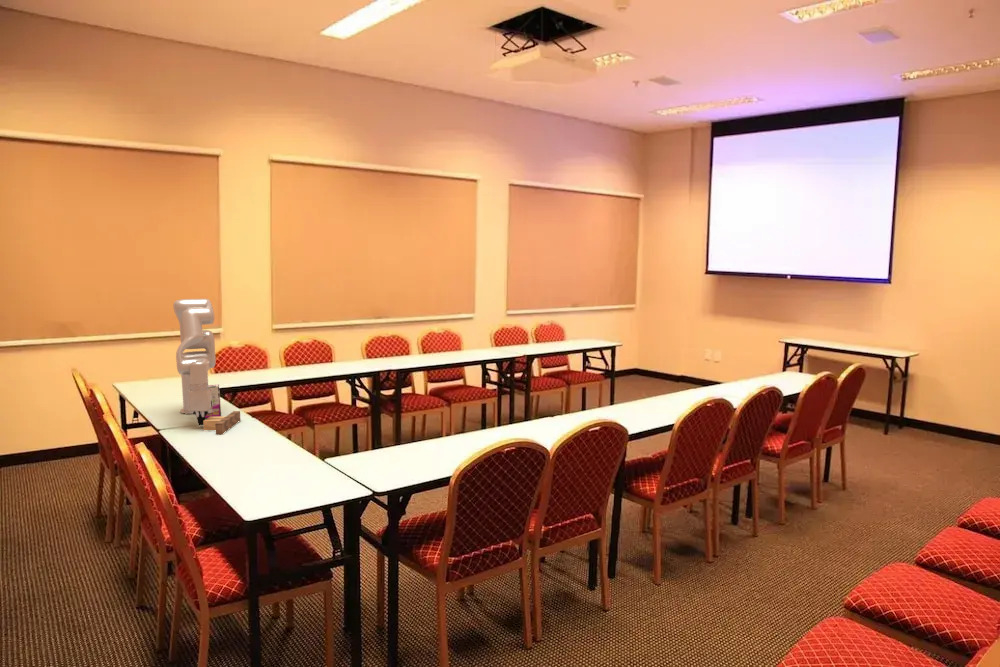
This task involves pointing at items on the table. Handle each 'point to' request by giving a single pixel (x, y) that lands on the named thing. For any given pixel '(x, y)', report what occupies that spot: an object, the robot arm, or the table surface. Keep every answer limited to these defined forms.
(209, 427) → the block
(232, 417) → the rail
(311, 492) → the table surface
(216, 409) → the candy bar box
